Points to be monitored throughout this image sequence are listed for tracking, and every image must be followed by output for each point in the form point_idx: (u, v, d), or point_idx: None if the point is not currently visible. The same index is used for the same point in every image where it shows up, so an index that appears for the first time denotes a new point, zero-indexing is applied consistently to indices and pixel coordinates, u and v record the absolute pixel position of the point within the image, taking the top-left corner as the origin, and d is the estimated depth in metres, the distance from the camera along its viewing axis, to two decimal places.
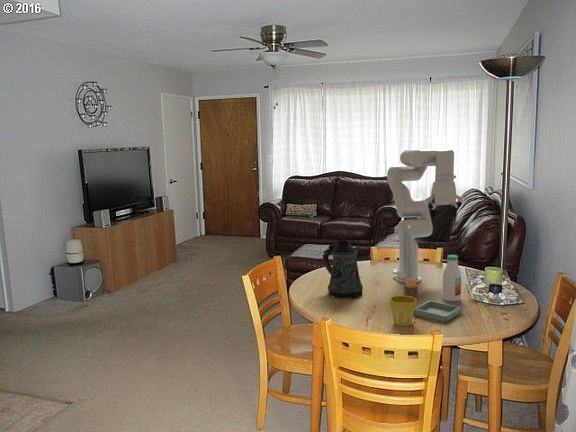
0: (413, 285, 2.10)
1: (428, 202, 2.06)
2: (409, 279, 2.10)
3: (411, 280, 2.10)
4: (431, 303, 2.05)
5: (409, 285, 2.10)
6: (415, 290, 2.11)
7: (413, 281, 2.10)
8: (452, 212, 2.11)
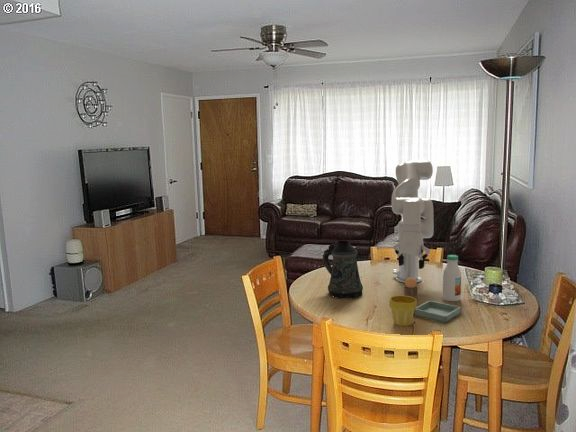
0: (413, 285, 2.10)
1: None
2: (409, 279, 2.10)
3: (411, 280, 2.10)
4: (431, 303, 2.05)
5: (409, 285, 2.10)
6: (415, 290, 2.11)
7: (413, 281, 2.10)
8: (401, 261, 2.13)
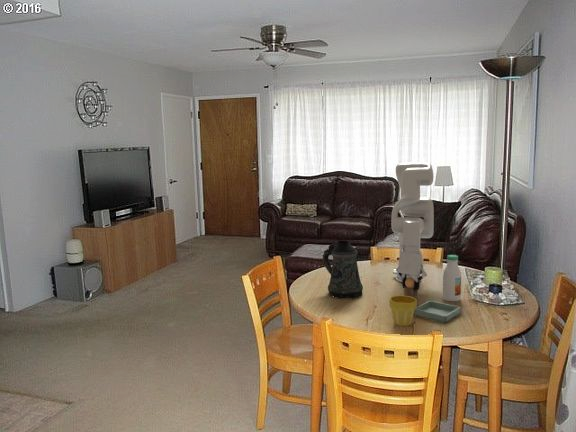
0: (413, 285, 2.10)
1: None
2: (409, 279, 2.10)
3: (411, 280, 2.10)
4: (431, 303, 2.05)
5: (409, 285, 2.10)
6: None
7: (413, 281, 2.10)
8: None
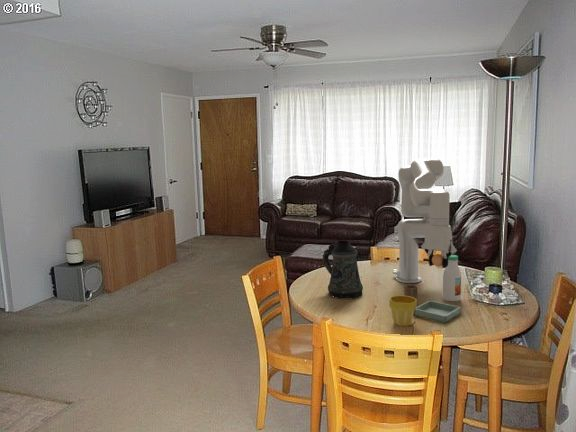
0: (441, 262, 1.91)
1: None
2: (436, 255, 1.92)
3: (439, 256, 1.92)
4: (431, 303, 2.05)
5: (437, 262, 1.92)
6: (415, 290, 2.11)
7: (441, 258, 1.92)
8: None
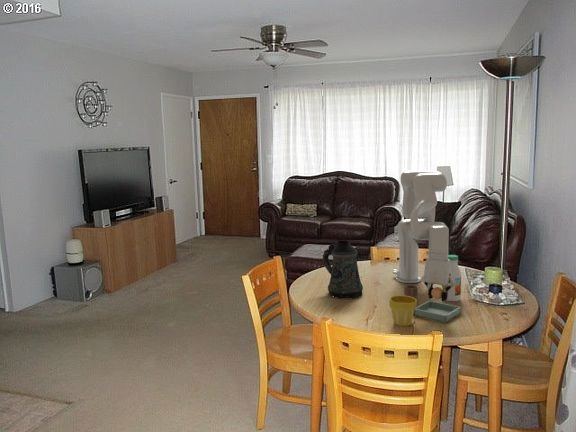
0: (440, 295, 1.93)
1: None
2: (436, 289, 1.94)
3: (438, 290, 1.94)
4: (431, 303, 2.05)
5: (436, 295, 1.94)
6: (415, 290, 2.11)
7: (440, 291, 1.93)
8: None
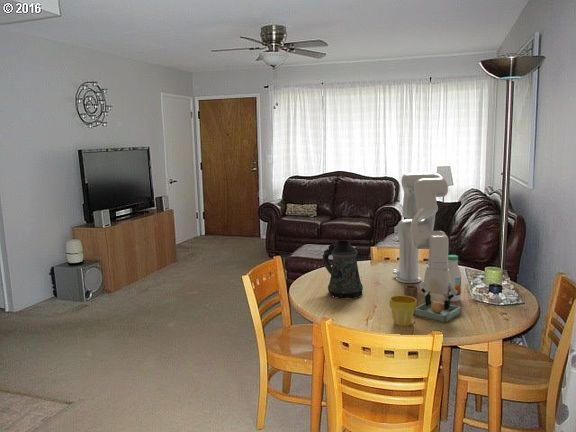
0: (440, 309, 1.94)
1: None
2: (435, 303, 1.96)
3: (437, 304, 1.95)
4: (431, 303, 2.05)
5: (435, 309, 1.95)
6: (415, 290, 2.11)
7: (439, 305, 1.95)
8: (428, 300, 1.99)
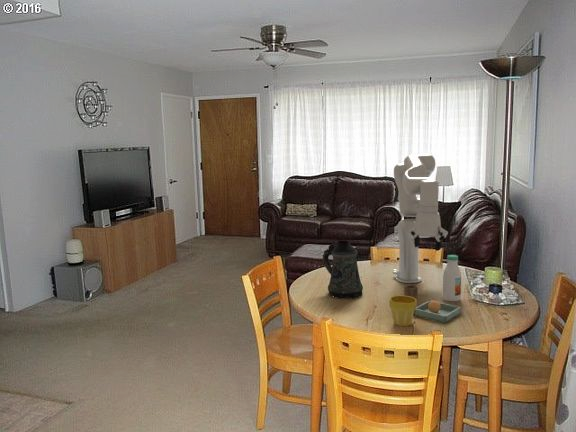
0: (437, 306, 1.95)
1: None
2: (430, 303, 1.97)
3: (432, 302, 1.96)
4: None
5: (433, 308, 1.95)
6: (415, 290, 2.11)
7: (435, 302, 1.96)
8: (417, 242, 2.08)
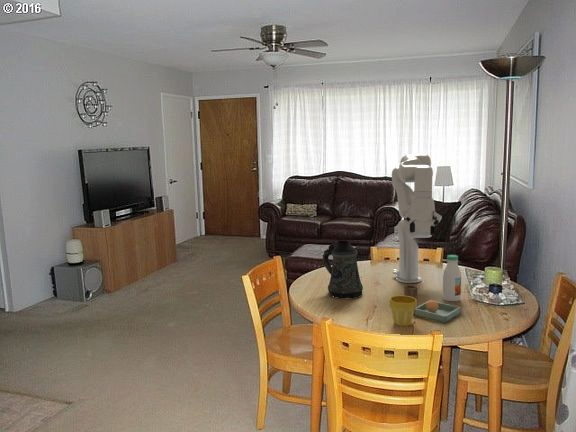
0: (434, 304, 1.96)
1: None
2: (427, 303, 1.98)
3: (428, 302, 1.97)
4: None
5: (431, 307, 1.96)
6: (415, 290, 2.11)
7: (431, 301, 1.97)
8: (413, 228, 2.14)
